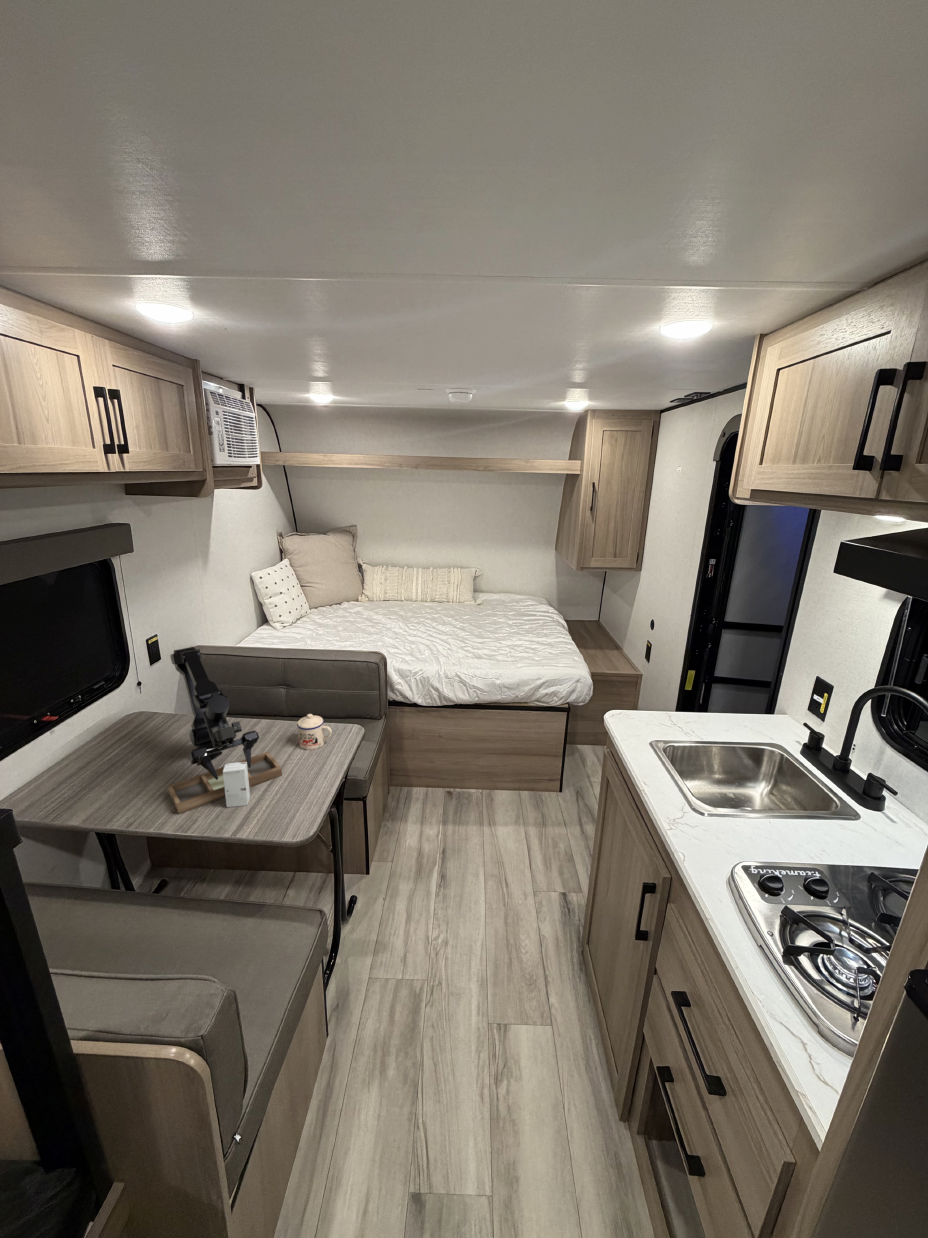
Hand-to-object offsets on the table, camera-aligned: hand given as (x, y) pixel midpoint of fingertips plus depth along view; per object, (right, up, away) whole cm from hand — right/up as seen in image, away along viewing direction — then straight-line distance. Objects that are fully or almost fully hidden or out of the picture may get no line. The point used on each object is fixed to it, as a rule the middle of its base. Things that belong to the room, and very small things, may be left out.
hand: (233, 773), depth 148 cm
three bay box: (-6, -6, +10) cm, 13 cm away
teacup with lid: (+15, 0, +33) cm, 36 cm away
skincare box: (+1, -9, +2) cm, 9 cm away
